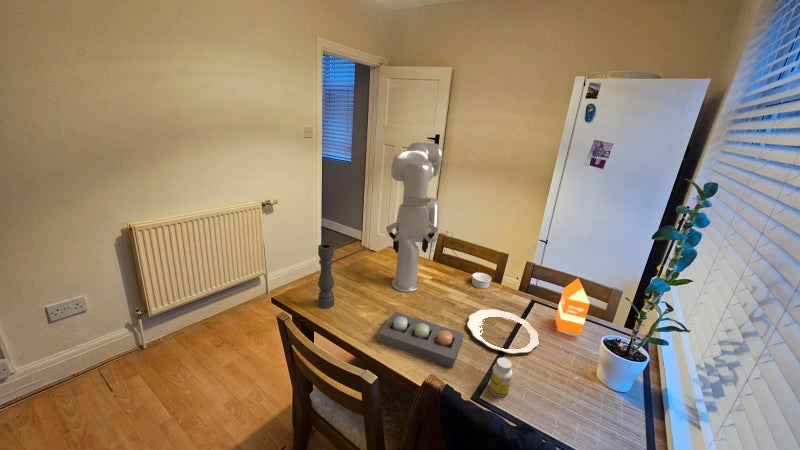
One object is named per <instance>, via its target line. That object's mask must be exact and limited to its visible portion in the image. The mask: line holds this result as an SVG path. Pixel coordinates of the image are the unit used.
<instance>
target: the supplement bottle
mask: <svg viewBox="0 0 800 450" xmlns="http://www.w3.org/2000/svg"><path fill="white" fill-rule="evenodd" d="M512 366H513V365H512V362H511V361H510V359H508V358H506V357H499V358H497V360H496V363H495V364H494V365H493V366H492V370H491V375H490V376H491V377H490V381H489V385H488V386H489V390H490V392H491V393H492V394H493V395H495V396H496V395H497V396H496V397H499V398H504V397H506V396H507V395H508V394H509V391H510V388H511V382H512V379H513V370H512Z"/></svg>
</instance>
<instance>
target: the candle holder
mask: <svg viewBox="0 0 800 450" xmlns="http://www.w3.org/2000/svg"><path fill="white" fill-rule="evenodd" d="M317 250H318V251H317V255H318V256H319V259H320V260H319V261H318V264H319V265H320V274H319V278H318V282H317V285H318V288H319V289H320V292H319V293H318V296H317V297H318V298H317V305H318V307H319V308H320V309H322V310H327V309H331V308H333V307H334V306H335V296H334V294H335V293H334V291H333V288H334V286H335V281H334V278H333V277H334V276H333V273H332V265H333V264H334V260H333V259H332V258H333V257H334V254H335V246H334V244H332V243H320V244H319V245H318V246H317Z"/></svg>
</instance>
